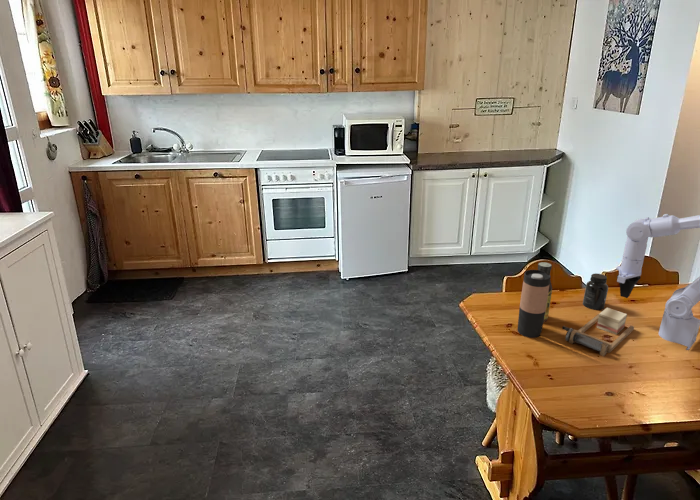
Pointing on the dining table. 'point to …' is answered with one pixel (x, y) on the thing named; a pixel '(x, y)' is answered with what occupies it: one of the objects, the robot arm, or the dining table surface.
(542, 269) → the sauce bottle
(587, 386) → the dining table surface
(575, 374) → the dining table surface
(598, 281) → the supplement bottle
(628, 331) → the bay
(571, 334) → the winch
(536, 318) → the travel mug
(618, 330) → the red striped cream box
